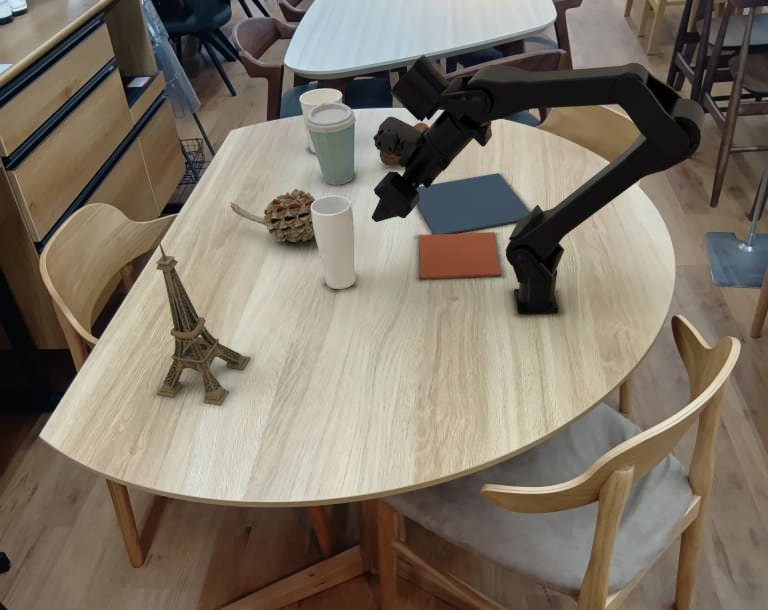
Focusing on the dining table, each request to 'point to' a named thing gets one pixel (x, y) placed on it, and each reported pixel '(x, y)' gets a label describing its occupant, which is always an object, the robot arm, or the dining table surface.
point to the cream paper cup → (317, 103)
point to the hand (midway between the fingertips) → (385, 206)
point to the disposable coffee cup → (333, 140)
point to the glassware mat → (469, 204)
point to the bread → (393, 159)
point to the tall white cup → (335, 239)
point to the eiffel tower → (192, 340)
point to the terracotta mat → (458, 255)
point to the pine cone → (286, 216)
